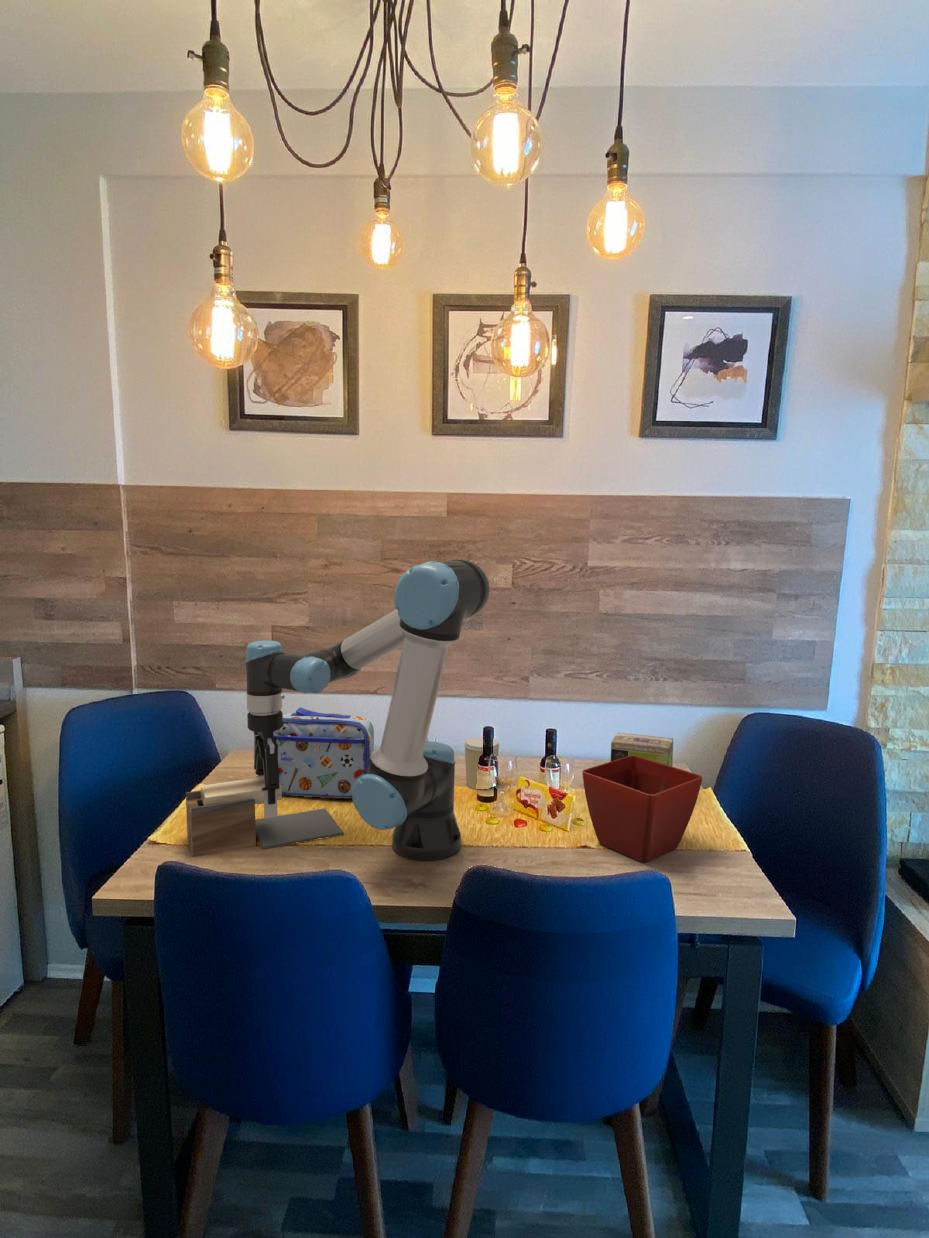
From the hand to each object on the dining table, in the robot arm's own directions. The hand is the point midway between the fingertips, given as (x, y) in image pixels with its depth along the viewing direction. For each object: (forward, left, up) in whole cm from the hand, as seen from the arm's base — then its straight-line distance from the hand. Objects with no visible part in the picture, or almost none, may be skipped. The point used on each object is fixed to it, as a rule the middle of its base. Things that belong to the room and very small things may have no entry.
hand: (266, 809), depth 169 cm
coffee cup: (+8, -59, -6) cm, 59 cm away
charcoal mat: (0, -7, -6) cm, 9 cm away
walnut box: (0, +10, -6) cm, 12 cm away
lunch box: (+19, -18, -6) cm, 27 cm away
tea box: (-14, -95, -6) cm, 96 cm away
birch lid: (0, +5, +3) cm, 6 cm away
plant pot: (-39, -74, -6) cm, 83 cm away
